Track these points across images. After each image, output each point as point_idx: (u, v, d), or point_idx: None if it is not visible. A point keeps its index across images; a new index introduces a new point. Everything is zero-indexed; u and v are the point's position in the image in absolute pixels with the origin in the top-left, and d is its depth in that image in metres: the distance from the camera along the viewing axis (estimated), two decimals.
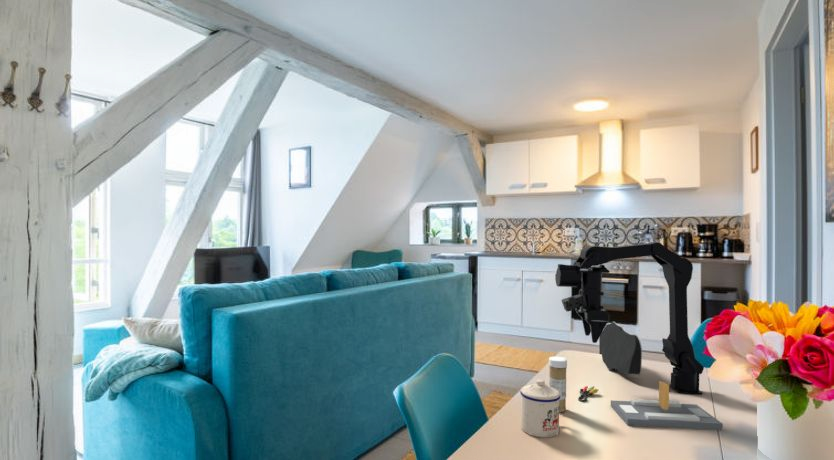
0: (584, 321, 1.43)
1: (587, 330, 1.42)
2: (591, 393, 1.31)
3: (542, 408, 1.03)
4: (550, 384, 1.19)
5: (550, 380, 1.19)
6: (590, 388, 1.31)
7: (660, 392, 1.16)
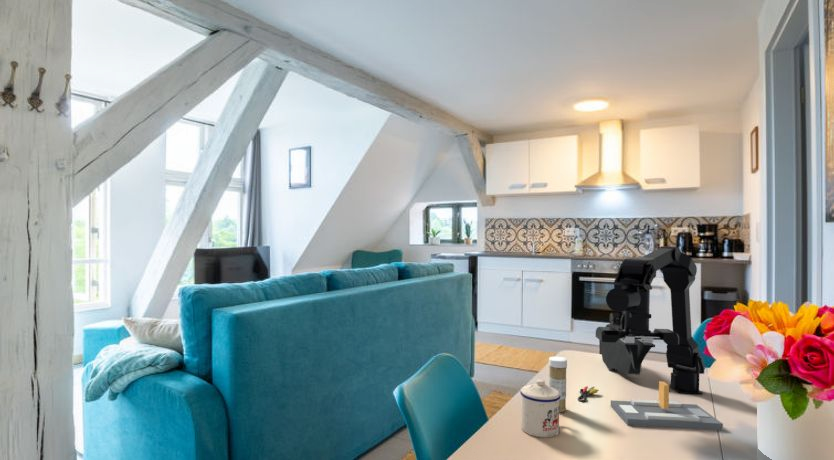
0: None
1: None
2: (591, 393, 1.31)
3: (542, 408, 1.03)
4: (550, 384, 1.19)
5: (550, 380, 1.19)
6: (590, 388, 1.31)
7: (660, 392, 1.16)
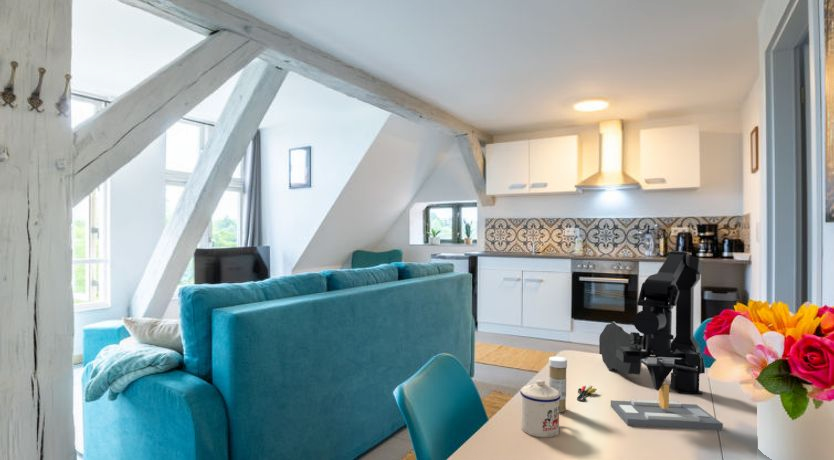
0: None
1: None
2: (589, 393, 1.31)
3: (542, 408, 1.03)
4: (550, 384, 1.19)
5: (550, 380, 1.19)
6: (588, 388, 1.31)
7: (660, 392, 1.16)
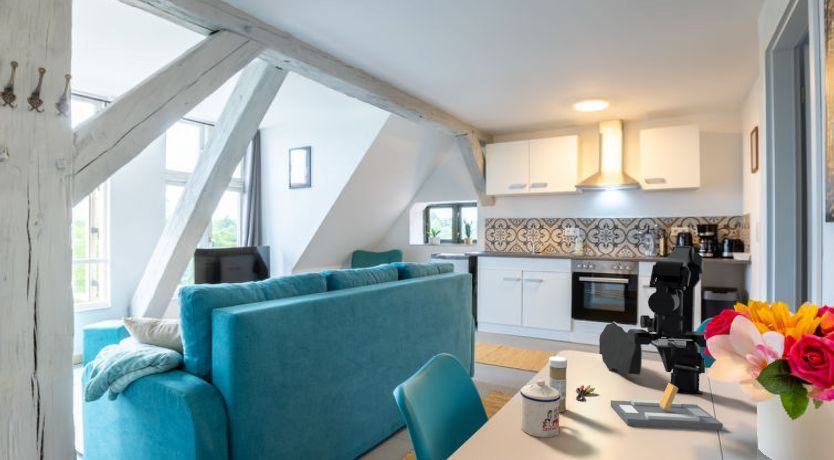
0: None
1: None
2: (588, 392, 1.32)
3: (542, 408, 1.03)
4: (550, 384, 1.19)
5: (550, 380, 1.19)
6: (587, 387, 1.32)
7: (666, 392, 1.16)
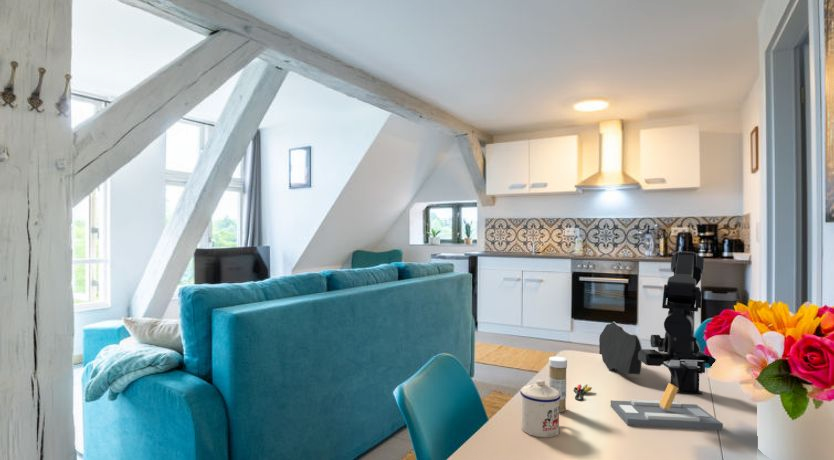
0: None
1: None
2: (585, 391, 1.33)
3: (542, 408, 1.03)
4: (550, 384, 1.19)
5: (550, 380, 1.19)
6: (584, 386, 1.33)
7: (666, 392, 1.16)
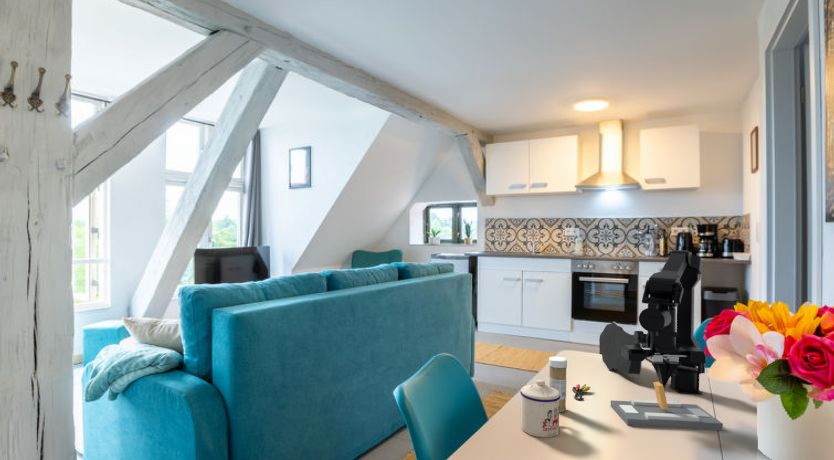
0: None
1: (662, 382, 1.16)
2: (584, 391, 1.33)
3: (542, 408, 1.03)
4: (550, 384, 1.19)
5: (550, 380, 1.19)
6: (583, 386, 1.33)
7: (657, 393, 1.16)
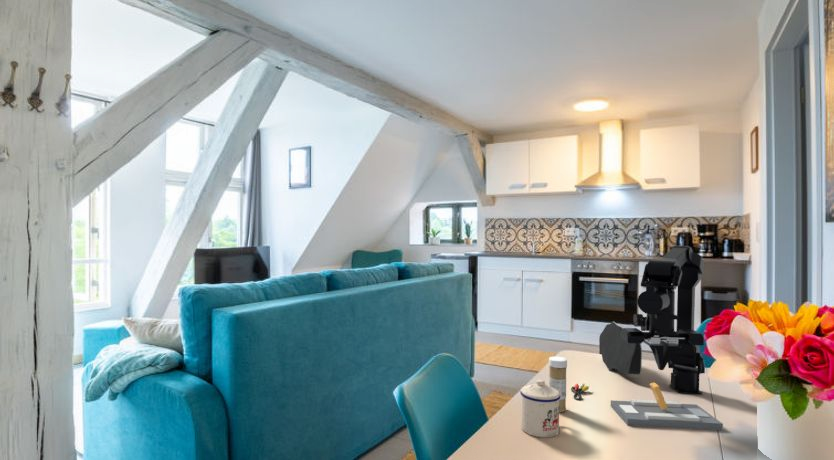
0: None
1: None
2: (582, 390, 1.33)
3: (542, 408, 1.03)
4: (550, 384, 1.19)
5: (550, 380, 1.19)
6: (582, 386, 1.33)
7: (654, 394, 1.16)
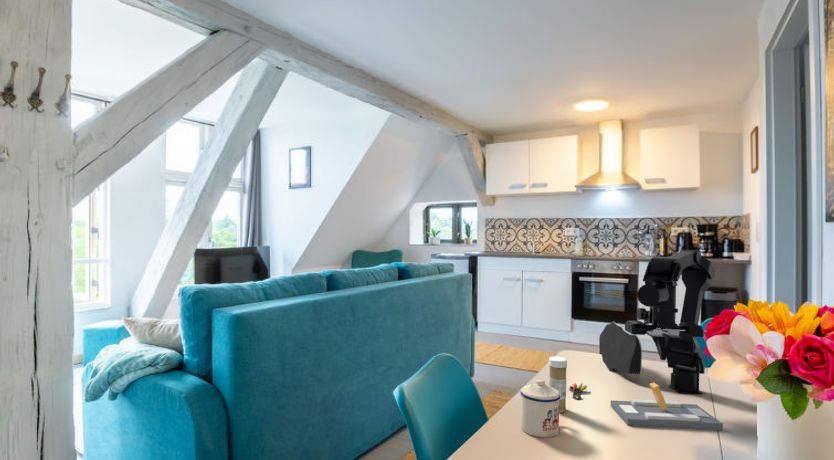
0: None
1: None
2: None
3: (542, 408, 1.03)
4: (550, 384, 1.19)
5: (550, 380, 1.19)
6: (580, 385, 1.34)
7: (654, 394, 1.16)
